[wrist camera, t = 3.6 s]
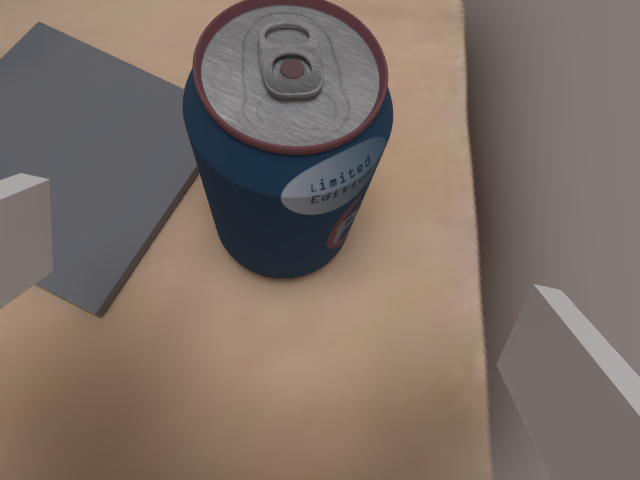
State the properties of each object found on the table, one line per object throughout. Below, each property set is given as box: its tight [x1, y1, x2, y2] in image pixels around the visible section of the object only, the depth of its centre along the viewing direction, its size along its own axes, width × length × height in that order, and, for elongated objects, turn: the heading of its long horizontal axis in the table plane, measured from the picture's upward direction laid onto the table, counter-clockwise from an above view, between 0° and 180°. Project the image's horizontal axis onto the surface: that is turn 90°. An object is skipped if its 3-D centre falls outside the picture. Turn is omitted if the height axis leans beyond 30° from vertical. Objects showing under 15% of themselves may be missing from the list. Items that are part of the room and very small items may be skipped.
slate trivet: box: [0, 22, 199, 318], centre depth 24 cm, size 13×13×1 cm
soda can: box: [183, 0, 393, 278], centre depth 18 cm, size 7×7×12 cm
